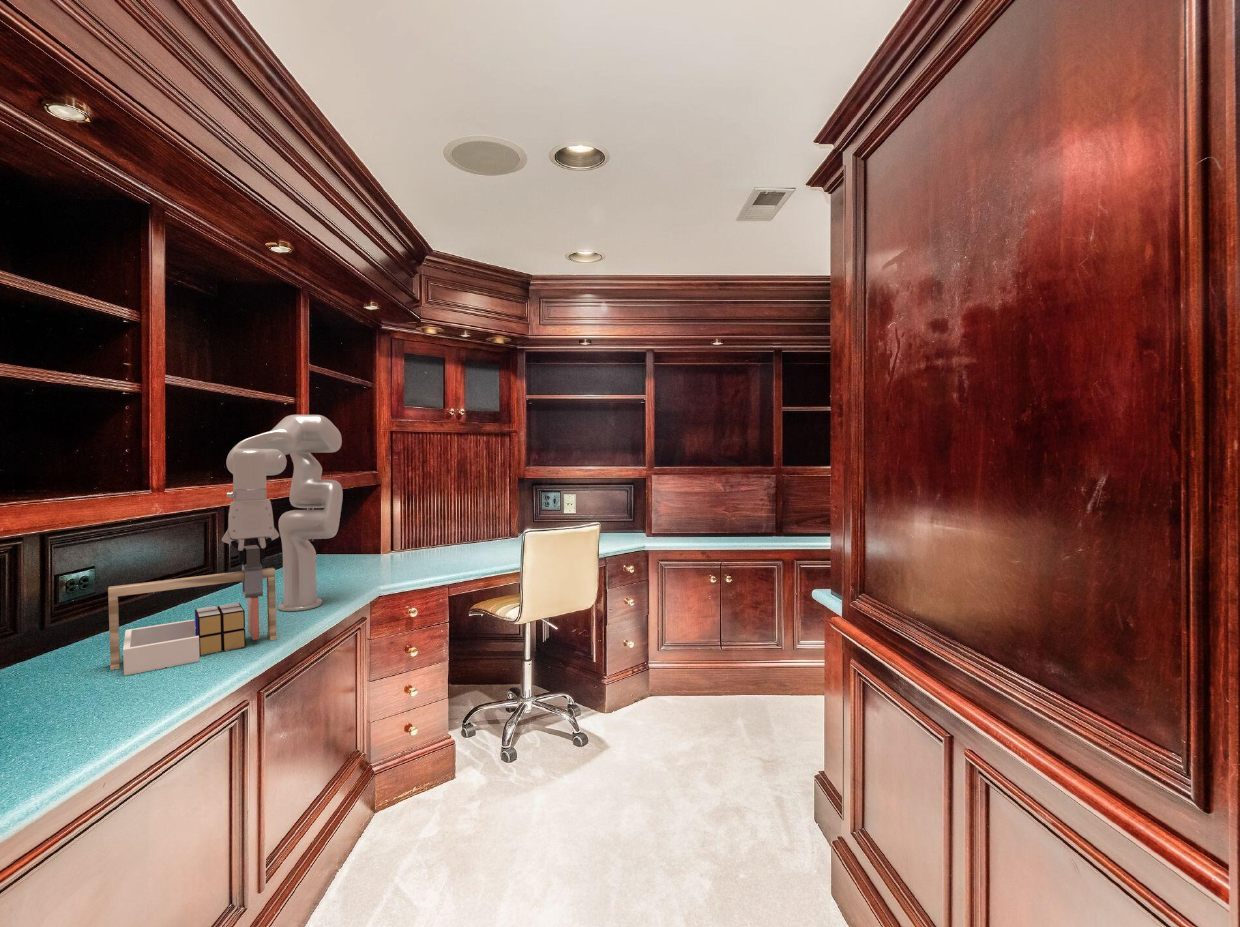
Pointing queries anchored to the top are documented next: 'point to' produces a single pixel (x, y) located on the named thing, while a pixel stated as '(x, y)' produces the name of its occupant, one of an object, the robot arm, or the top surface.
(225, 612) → the puzzle cube
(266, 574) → the rail gantry
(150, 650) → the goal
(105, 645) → the top surface
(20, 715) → the top surface
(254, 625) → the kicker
